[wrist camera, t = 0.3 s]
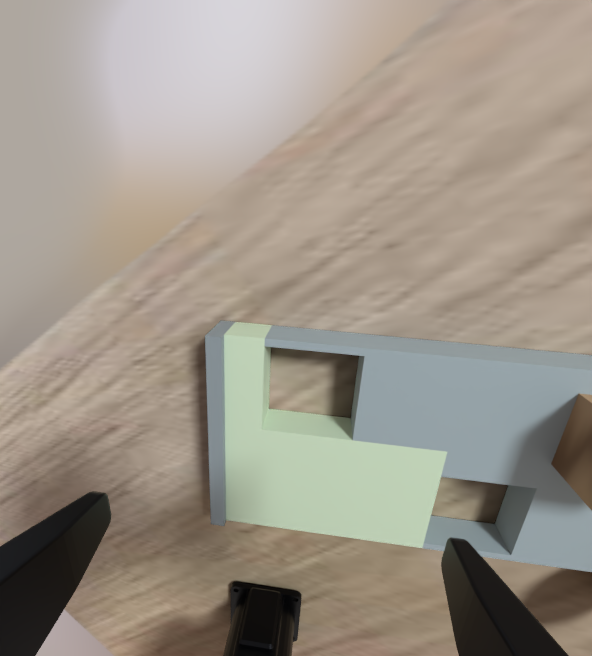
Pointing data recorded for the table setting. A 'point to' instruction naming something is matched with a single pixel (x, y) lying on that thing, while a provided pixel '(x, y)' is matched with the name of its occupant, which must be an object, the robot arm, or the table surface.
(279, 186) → the table surface
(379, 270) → the table surface
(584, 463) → the block
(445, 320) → the table surface
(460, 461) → the board
